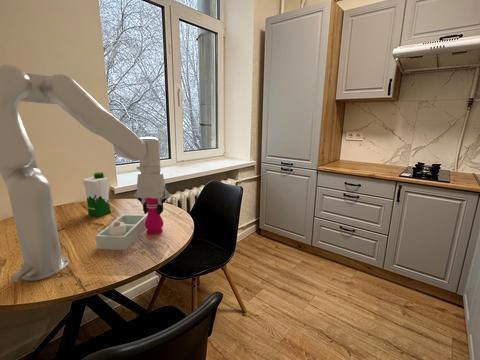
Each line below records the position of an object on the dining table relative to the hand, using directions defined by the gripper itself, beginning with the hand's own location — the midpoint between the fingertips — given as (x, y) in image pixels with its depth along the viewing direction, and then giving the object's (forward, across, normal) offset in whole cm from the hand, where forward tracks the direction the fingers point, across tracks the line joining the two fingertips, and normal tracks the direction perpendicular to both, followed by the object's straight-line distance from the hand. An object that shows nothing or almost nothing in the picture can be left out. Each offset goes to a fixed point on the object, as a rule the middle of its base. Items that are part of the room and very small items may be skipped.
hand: (153, 212), depth 105 cm
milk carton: (+10, -34, +19) cm, 41 cm away
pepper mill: (+10, 0, 0) cm, 10 cm away
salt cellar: (+8, -10, -10) cm, 17 cm away
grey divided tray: (+9, -10, -5) cm, 15 cm away
